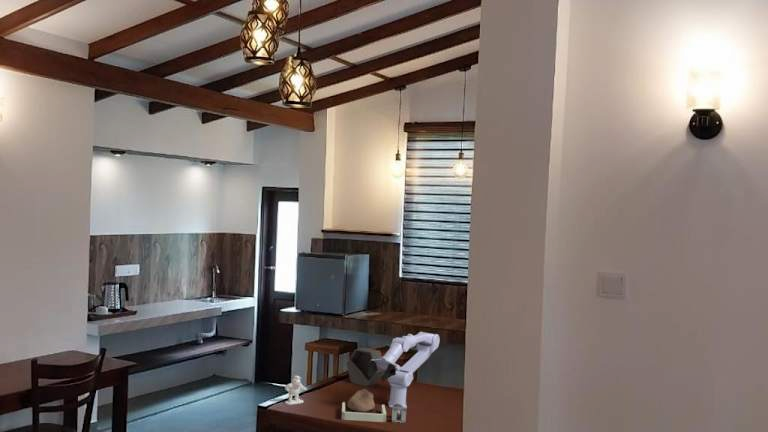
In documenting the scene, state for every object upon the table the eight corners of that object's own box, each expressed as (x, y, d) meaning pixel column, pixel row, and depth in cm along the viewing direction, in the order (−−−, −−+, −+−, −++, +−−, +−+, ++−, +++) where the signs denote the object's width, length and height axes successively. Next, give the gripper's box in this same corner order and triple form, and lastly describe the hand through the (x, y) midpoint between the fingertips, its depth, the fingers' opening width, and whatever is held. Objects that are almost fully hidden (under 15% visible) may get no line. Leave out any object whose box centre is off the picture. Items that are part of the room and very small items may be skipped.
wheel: (391, 415, 298) (392, 403, 298) (403, 416, 298) (404, 404, 298) (392, 419, 292) (393, 406, 292) (404, 420, 292) (405, 407, 292)
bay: (341, 409, 304) (342, 402, 304) (383, 411, 305) (384, 404, 305) (341, 419, 287) (342, 412, 287) (386, 422, 288) (386, 415, 288)
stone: (369, 411, 312) (360, 390, 315) (383, 404, 307) (373, 383, 309) (350, 419, 303) (341, 397, 305) (364, 413, 297) (354, 391, 300)
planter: (341, 370, 359) (360, 340, 353) (350, 369, 365) (370, 339, 359) (361, 394, 351) (381, 364, 344) (370, 392, 357) (390, 362, 350)
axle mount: (391, 420, 291) (392, 406, 291) (405, 421, 291) (406, 407, 292) (391, 422, 289) (393, 407, 289) (405, 422, 289) (406, 408, 290)
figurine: (290, 406, 302) (293, 378, 303) (282, 402, 307) (284, 375, 307) (307, 403, 309) (309, 376, 309) (298, 400, 313) (300, 373, 314)
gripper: (375, 347, 312) (359, 367, 302) (402, 353, 304) (387, 373, 294) (378, 359, 315) (363, 379, 305) (406, 365, 307) (390, 386, 297)
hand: (375, 377), depth 300 cm, fingers open, 7 cm apart
